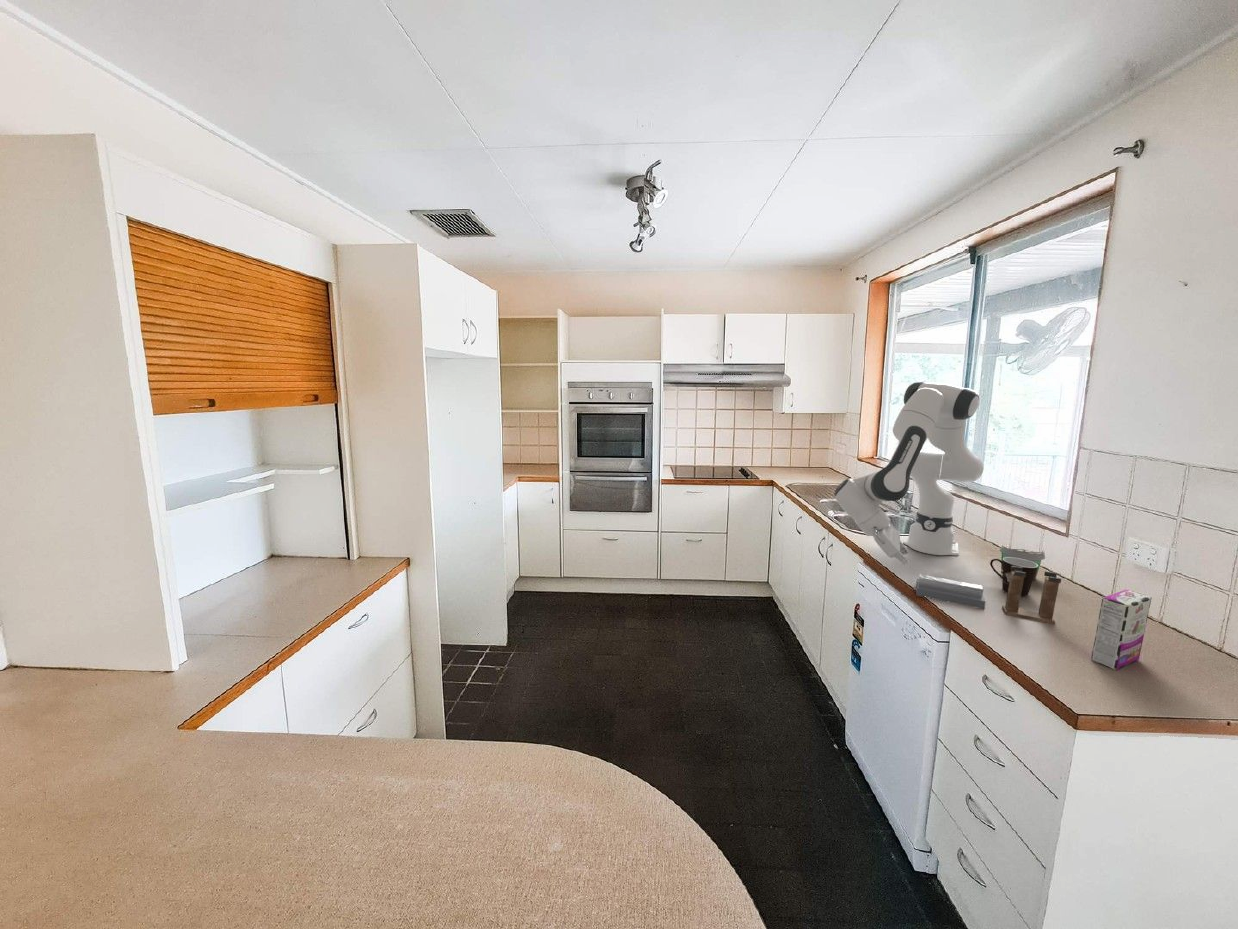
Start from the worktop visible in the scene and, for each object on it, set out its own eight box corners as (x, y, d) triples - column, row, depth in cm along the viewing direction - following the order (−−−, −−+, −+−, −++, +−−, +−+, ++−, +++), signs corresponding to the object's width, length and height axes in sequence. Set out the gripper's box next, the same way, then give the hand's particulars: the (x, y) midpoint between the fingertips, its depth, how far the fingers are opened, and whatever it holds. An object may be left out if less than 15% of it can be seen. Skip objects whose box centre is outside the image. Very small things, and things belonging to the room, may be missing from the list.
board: (916, 595, 150) (917, 588, 150) (915, 586, 157) (916, 579, 156) (984, 609, 142) (985, 601, 141) (980, 598, 149) (981, 591, 148)
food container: (1001, 579, 164) (1006, 550, 162) (995, 572, 169) (1000, 545, 167) (1047, 585, 159) (1052, 556, 157) (1039, 578, 165) (1044, 550, 163)
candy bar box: (1112, 650, 121) (1125, 588, 118) (1139, 660, 117) (1154, 597, 114) (1088, 659, 117) (1101, 596, 114) (1115, 671, 112) (1130, 605, 109)
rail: (918, 585, 152) (919, 577, 151) (918, 582, 154) (919, 574, 154) (981, 597, 144) (983, 589, 143) (980, 593, 146) (981, 585, 146)
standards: (1004, 614, 139) (1012, 570, 136) (1001, 607, 143) (1009, 565, 140) (1055, 624, 133) (1063, 579, 131) (1050, 617, 138) (1058, 573, 135)
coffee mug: (1040, 598, 149) (1045, 568, 147) (1011, 598, 149) (1017, 567, 148) (1010, 582, 161) (1015, 554, 159) (984, 582, 161) (989, 553, 159)
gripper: (882, 526, 146) (916, 563, 143) (884, 510, 164) (914, 543, 161) (864, 538, 149) (897, 574, 146) (868, 521, 167) (897, 553, 164)
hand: (906, 558), depth 154 cm, fingers open, 8 cm apart
